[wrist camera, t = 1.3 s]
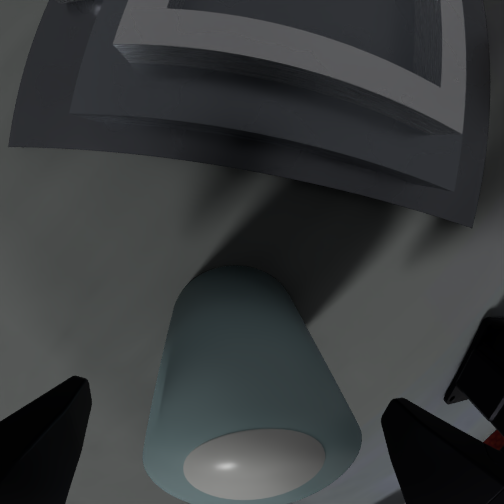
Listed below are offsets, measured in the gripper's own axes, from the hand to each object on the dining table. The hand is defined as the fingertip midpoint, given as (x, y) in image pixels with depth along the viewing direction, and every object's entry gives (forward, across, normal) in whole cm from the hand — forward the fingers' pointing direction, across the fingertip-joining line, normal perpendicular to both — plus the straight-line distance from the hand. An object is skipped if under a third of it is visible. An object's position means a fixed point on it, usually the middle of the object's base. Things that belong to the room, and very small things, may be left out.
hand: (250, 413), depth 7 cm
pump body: (+5, 0, 0) cm, 5 cm away
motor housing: (+5, 0, -13) cm, 14 cm away
